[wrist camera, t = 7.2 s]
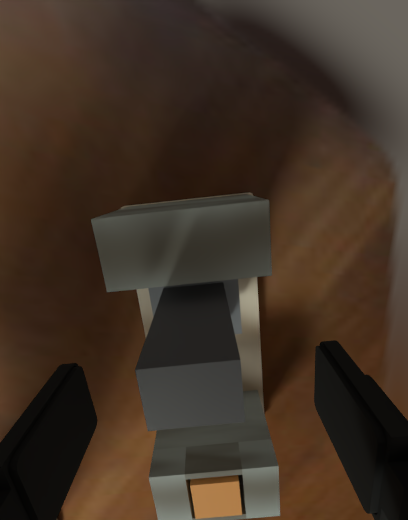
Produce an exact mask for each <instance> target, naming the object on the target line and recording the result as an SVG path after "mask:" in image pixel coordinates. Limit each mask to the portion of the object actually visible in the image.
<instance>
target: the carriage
mask: <svg viewBox="0 0 408 520" xmlns="http://www.w3.org/2000/svg"><path fill="white" fill-rule="evenodd" d="M148 290H149V295H150V301H151V307H152V312H153V320H152V323H151V326H150V328H149V331H148V334H147V337H146V340H145V343H144V346H143V349H142V351H141V354H140V357H139V360H138V363H137V366H136V369H135V372H136V377H137V381H138V386H139V391H140V396H141V400H142V405H143V410H144V414H145V419H146V424H147V429H148V431H155V430H165V429H176V428H187V427H198V426H209V425H220V424H230V423H241V422H245V412H244V399H243V386H242V373H241V360H240V355H239V351H238V346H237V342H236V337H235V334H242V326H241V312H240V298H239V285H238V279H232V280H222V281H212V282H203V283H193V284H183V285H173V286H164V287H154V288H148Z"/></svg>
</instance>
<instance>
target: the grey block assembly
mask: <svg viewBox="0 0 408 520" xmlns="http://www.w3.org/2000/svg"><path fill="white" fill-rule="evenodd" d="M91 222H92V227H93V231H94V236H95V240H96V245H97V249H98V254H99V258H100V263H101V267H102V271H103V276H104V280H105V285H106V289H107V292H115V291H125V290H134V289H137V295H138V300H139V305H140V310H141V316H142V321H143V326H144V331H145V337H147V334H148V331H149V328H150V326H151V323H152V320H153V312H152V307H151V301H150V295H149V290H148V288H154V287H164V286H173V285H183V284H193V283H203V282H212V281H222V280H232V279H238V285H239V298H240V312H241V326H242V334H235V337H236V342H237V346H238V351H239V355H240V360H241V373H242V386H243V399H244V412H245V422H241V423H230V424H220V425H209V426H198V427H187V428H176V429H165V430H157V434H156V440H155V445H154V451H153V457H152V462H151V468H150V474H149V481H150V485H151V489H152V494H153V498H154V503H155V507H156V512H157V516H158V520H235V519H247V518H259V517H270V516H280V499H279V470H278V463H277V459H276V456H275V452H274V448H273V445H272V441H271V437H270V434H269V430H268V426H267V423H266V419H265V415H264V402H263V383H262V363H261V344H260V324H259V304H258V285H257V277H261V276H271V275H272V268H271V239H270V210H269V200H267V199H263V198H259V197H256V196H253V193H250V192H248V193H239V194H230V195H221V196H211V197H202V198H193V199H184V200H174V201H165V202H156V203H147V204H137V205H128V206H124V207H121V209H119V210H116V211H113V212H111V213H108V214H105V215H102V216H99V217H96V218H93V219H91ZM232 475H238V477H239V487H240V497H241V508H242V515H236V516H224V517H213V518H201V519H196V518H195V512H194V506H193V500H192V494H191V488H190V479H198V478H209V477H221V476H232Z"/></svg>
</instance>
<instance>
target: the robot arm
mask: <svg viewBox="0 0 408 520" xmlns="http://www.w3.org/2000/svg"><path fill="white" fill-rule="evenodd" d="M314 402H315V407H316V410H317V412H318V414H319V416H320V418H321V420H322V423H323V425H324V427H325V429H326V431H327V433H328V435H329V437H330V439H331V441H332V443H333V446H334V448H335V450H336V452H337V454H338V456H339V458H340V460H341V462H342V464H343V467H344V469H345V471H346V473H347V475H348V477H349V479H350V481H351V483H352V485H353V487H354V490H355V492H356V494H357V496H358V498H359V500H360V502H361V504H362V506H363V508H364V510H365V511H366V513H368V514H369V513H372V515H373V517H374V519H375V520H408V421H407V419H406V418H405V417H404V416H403V415H402V413H401V412H400V411H399V410H398V409H397V407H396V406H395V405H394V404H393V403H392V401H391V400H390V399H389V398H388V397H387V395H386V394H385V393H384V392H383V390H382V389H381V388H380V387H379V386H378V384H377V383H376V382H375V381H374V380H373V379H372V378H371V377H370V376H369V375H364V374H363V372H362V371H361V370H360V369H359V367H358V366H357V365H356V364H355V362H354V361H353V360H352V359H351V357H350V356H349V355H348V354H347V352H346V351H345V350H344V349H343V347H342V346H341V345H340V344H339V342H337V341H324V342H321V343H320V346H316V353H315V393H314ZM96 425H97V416H96V413H95V409H94V406H93V402H92V399H91V396H90V392H89V389H88V385H87V382H86V378H85V375H84V372H83V369H82V367H79V366H78V364H77V363H72V364H62V365H60V366H59V367H58V368H57V370H56V371H55V372H54V373H53V375H52V376H51V377H50V379H49V380H48V381H47V383H46V384H45V385H44V386H43V388H42V389H41V390H40V392H39V393H38V394H37V396H36V397H35V398H34V400H33V401H32V402H31V403H30V405H29V406H28V407H27V409H26V410H25V411H24V413H23V414H22V415H21V417H20V418H19V419H18V420H17V422H16V423H15V424H14V426H13V427H12V428H11V430H10V431H9V432H8V434H7V435H6V436H5V437H4V439H3V440H2V441H1V443H0V520H58V519H57V517H58V514H59V512H60V510H61V507H62V505H63V503H64V500H65V498H66V496H67V493H68V491H69V489H70V486H71V484H72V482H73V480H74V477H75V475H76V473H77V470H78V468H79V466H80V463H81V461H82V459H83V456H84V454H85V452H86V449H87V447H88V445H89V442H90V440H91V438H92V436H93V433H94V431H95V429H96Z"/></svg>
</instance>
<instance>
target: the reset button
mask: <svg viewBox="0 0 408 520" xmlns="http://www.w3.org/2000/svg"><path fill="white" fill-rule="evenodd" d="M190 488H191V494H192V500H193V506H194V512H195V518H196V519H201V518H213V517H224V516H236V515H242V508H241V497H240V487H239V477H238V475H232V476H221V477H209V478H198V479H190Z"/></svg>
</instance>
